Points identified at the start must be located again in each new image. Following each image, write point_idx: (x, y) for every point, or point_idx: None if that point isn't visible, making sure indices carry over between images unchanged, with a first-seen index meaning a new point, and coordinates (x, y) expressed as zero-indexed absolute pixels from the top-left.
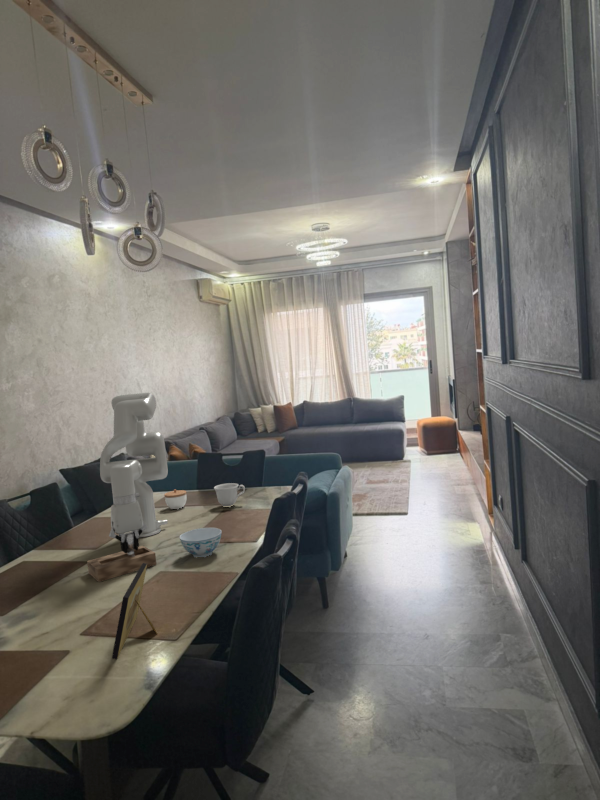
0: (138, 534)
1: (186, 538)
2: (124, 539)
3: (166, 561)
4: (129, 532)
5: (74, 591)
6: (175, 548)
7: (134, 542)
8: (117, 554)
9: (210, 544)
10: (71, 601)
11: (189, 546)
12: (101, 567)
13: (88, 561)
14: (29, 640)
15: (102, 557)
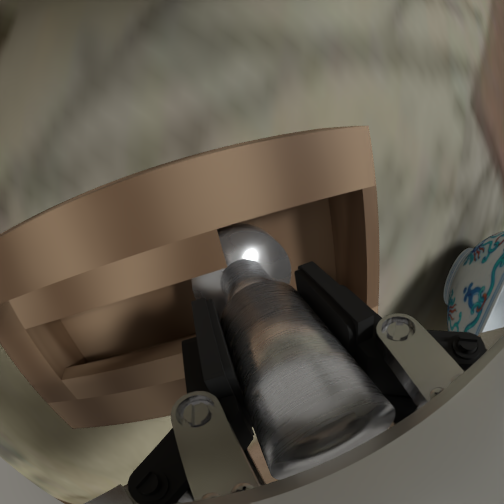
0: (408, 397)
1: (499, 252)
2: (249, 458)
3: (382, 282)
4: (369, 413)
5: (29, 405)
6: (444, 126)
7: None
8: (137, 240)
9: None
10: (59, 449)
11: None
12: (84, 421)
13: None
14: (69, 497)
15: (25, 248)
